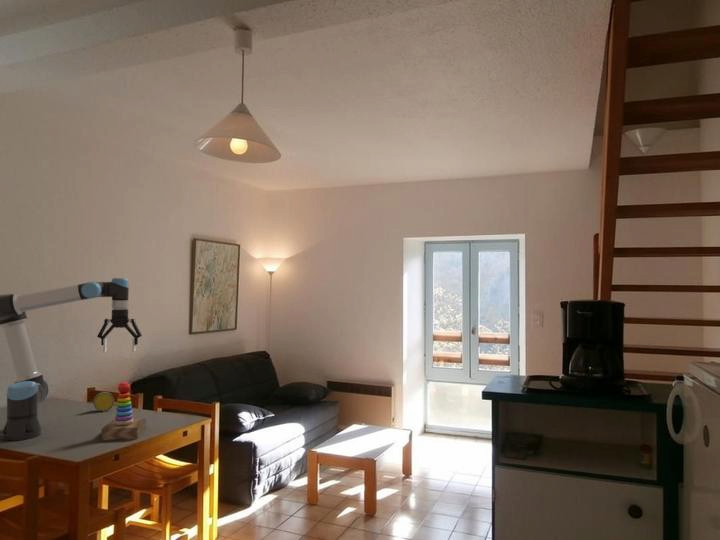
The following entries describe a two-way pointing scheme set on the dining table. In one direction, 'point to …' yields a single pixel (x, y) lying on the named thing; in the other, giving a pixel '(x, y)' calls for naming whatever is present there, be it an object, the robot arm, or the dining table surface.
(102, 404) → the decorative artifact
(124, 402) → the stacking toy
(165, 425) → the dining table surface
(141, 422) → the walnut block
